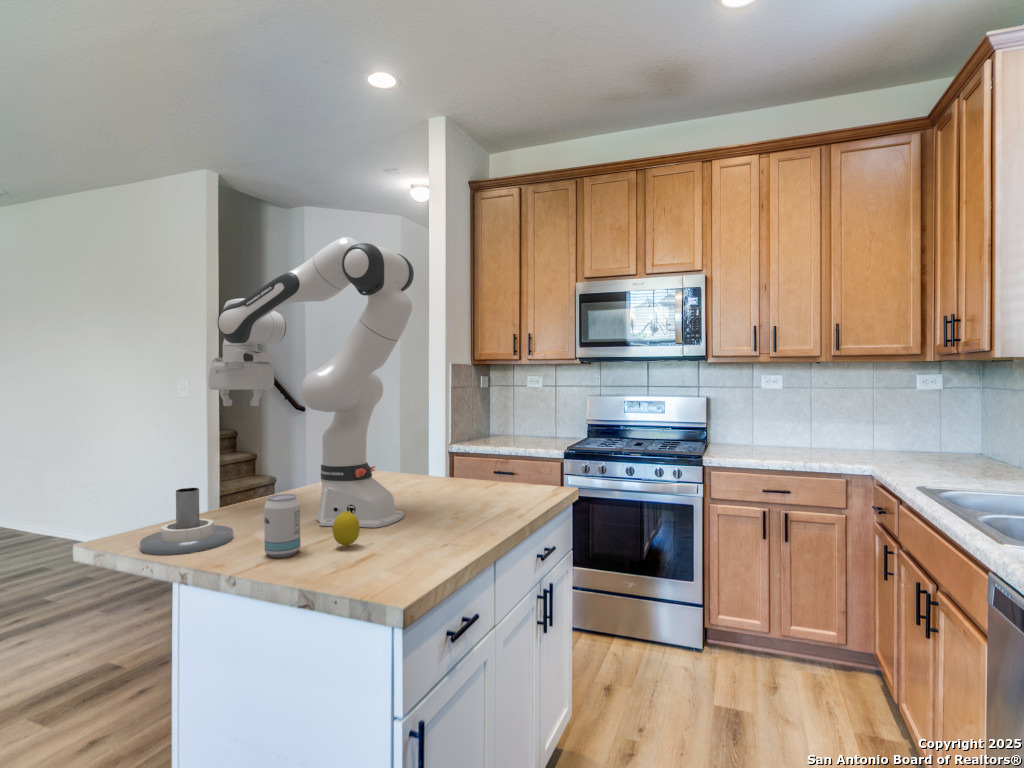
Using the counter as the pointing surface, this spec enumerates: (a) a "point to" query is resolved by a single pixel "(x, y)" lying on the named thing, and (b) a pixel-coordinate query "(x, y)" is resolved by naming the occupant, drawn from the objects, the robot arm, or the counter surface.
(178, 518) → the grey hollow cylinder
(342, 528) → the lemon
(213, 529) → the collar
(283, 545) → the beverage can
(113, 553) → the counter surface
